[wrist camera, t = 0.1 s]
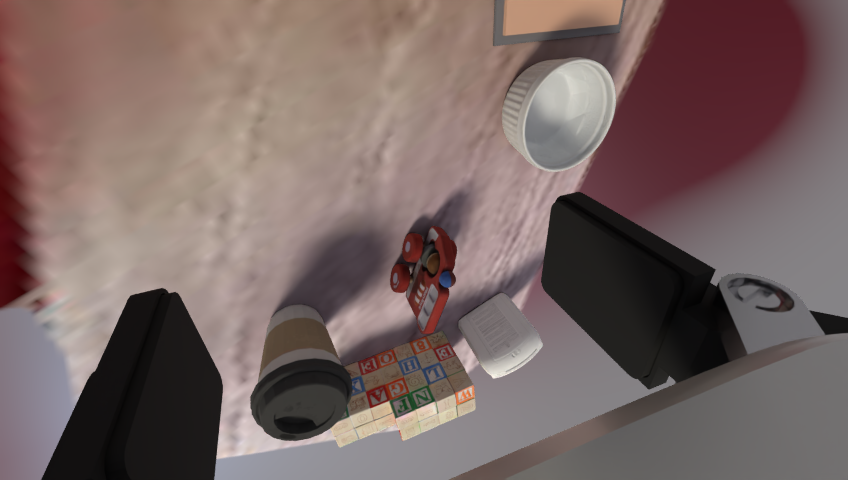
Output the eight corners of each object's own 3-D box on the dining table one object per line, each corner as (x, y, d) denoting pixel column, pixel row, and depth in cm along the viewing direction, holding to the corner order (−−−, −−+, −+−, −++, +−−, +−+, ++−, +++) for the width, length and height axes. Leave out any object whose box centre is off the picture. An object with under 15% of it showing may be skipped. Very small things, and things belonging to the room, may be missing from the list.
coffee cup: (236, 342, 53) (228, 441, 41) (278, 280, 50) (284, 366, 38) (309, 361, 59) (322, 452, 47) (351, 306, 56) (375, 388, 44)
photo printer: (462, 334, 68) (497, 390, 58) (453, 321, 66) (487, 377, 56) (510, 301, 68) (553, 351, 58) (502, 287, 66) (545, 337, 56)
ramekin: (595, 77, 52) (636, 85, 46) (547, 167, 56) (578, 184, 51) (523, 33, 45) (560, 37, 40) (476, 138, 50) (503, 155, 45)
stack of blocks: (329, 397, 65) (341, 468, 55) (319, 374, 61) (330, 444, 51) (446, 353, 69) (476, 411, 60) (443, 329, 66) (475, 386, 56)
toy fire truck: (454, 224, 56) (488, 262, 47) (424, 293, 60) (450, 339, 52) (411, 215, 52) (440, 254, 44) (383, 289, 57) (404, 337, 49)
